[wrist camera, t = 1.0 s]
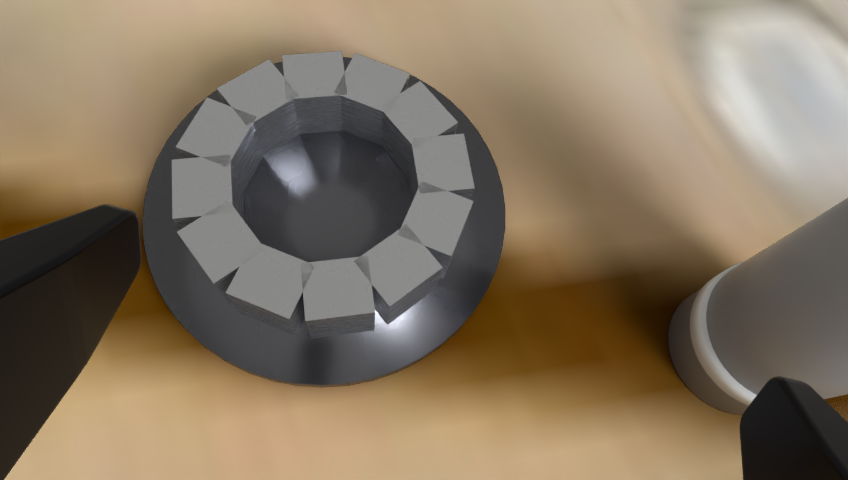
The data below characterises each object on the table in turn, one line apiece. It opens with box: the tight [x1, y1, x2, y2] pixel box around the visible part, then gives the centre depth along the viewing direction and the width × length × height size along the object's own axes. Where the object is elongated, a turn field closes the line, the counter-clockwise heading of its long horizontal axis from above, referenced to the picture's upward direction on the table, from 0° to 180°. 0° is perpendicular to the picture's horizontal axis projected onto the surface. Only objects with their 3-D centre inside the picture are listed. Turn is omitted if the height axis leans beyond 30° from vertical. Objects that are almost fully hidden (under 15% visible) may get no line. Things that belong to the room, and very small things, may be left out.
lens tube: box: [668, 198, 848, 415], centre depth 19 cm, size 5×5×13 cm
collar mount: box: [143, 51, 505, 387], centre depth 24 cm, size 14×14×3 cm
